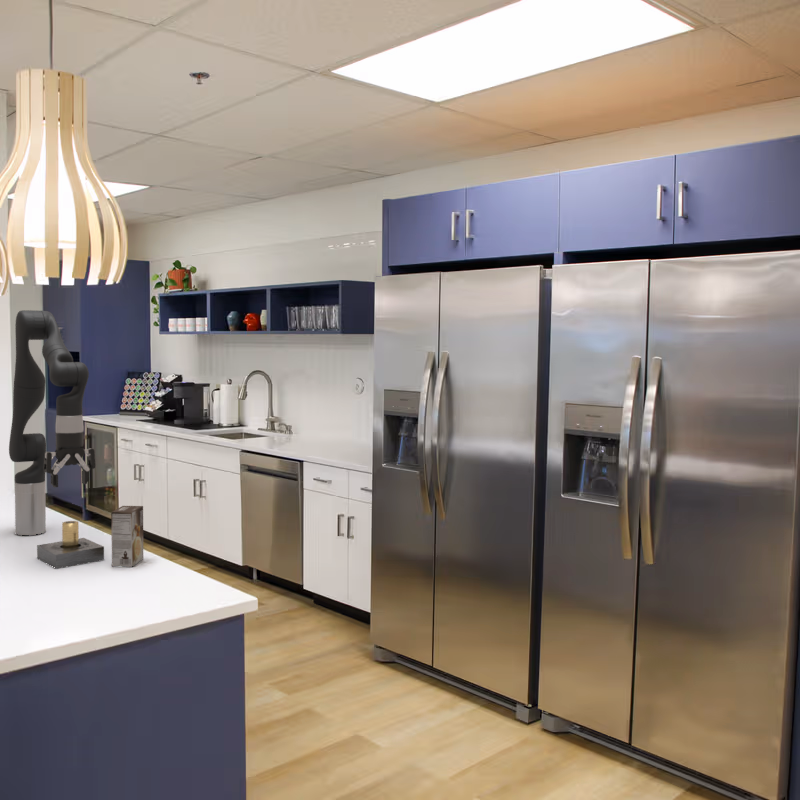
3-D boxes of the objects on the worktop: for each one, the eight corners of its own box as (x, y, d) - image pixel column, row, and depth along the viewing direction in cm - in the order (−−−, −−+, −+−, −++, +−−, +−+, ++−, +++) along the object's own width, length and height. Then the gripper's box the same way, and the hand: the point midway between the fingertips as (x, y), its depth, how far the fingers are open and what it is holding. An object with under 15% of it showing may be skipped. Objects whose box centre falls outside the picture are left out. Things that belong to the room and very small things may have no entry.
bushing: (60, 555, 235) (59, 521, 235) (74, 553, 239) (74, 519, 238) (66, 558, 232) (65, 524, 232) (81, 556, 235) (80, 522, 235)
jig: (37, 558, 236) (37, 545, 235) (84, 550, 245) (84, 537, 245) (56, 568, 226) (55, 554, 225) (104, 560, 235) (104, 546, 235)
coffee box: (122, 558, 238) (122, 505, 237) (144, 558, 238) (143, 505, 237) (111, 566, 229) (110, 511, 228) (133, 567, 229) (132, 512, 228)
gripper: (88, 427, 241) (88, 481, 242) (39, 430, 231) (40, 486, 232) (99, 430, 235) (99, 484, 236) (49, 433, 225) (50, 490, 226)
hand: (70, 485), depth 234 cm, fingers open, 8 cm apart
